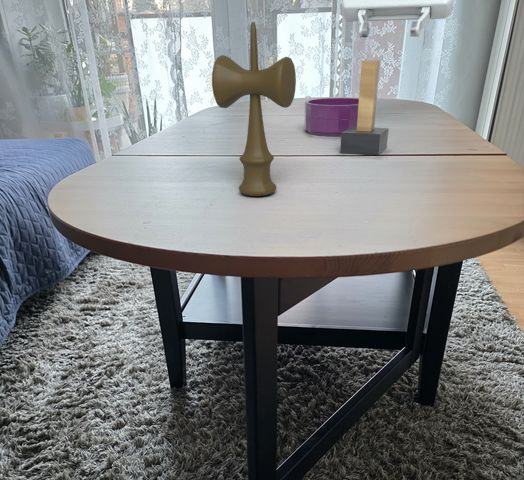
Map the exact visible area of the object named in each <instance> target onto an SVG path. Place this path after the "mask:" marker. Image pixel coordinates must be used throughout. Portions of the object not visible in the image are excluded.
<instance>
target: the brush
mask: <svg viewBox="0 0 524 480" xmlns="http://www.w3.org/2000/svg"><path fill="white" fill-rule="evenodd" d="M380 67H381V60H380V59H375V60H374V59H365V60H361V67H360V79H359V80H360V81H359V92H358V98H359V105H358V118H357V127H350V128H349V129H347V130H345V131H343V132H342V133H341V136H340V148H339V152H340V154H349V155H363V156H365V155H366V156H379V155H380V154H381V153H382V152H384V151H386V149H387V147H388V138H389V130H390V129H389V127H375V123H376V113H377V102H378V101H377V100H378V90H379V81H380V80H379V77H380Z"/></svg>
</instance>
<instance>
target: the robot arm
mask: <svg viewBox="0 0 524 480" xmlns="http://www.w3.org/2000/svg"><path fill="white" fill-rule="evenodd" d="M453 5H454V0H342V1H341V9H342V16H343V18H344V20H345V21H346V22H347V23H348V22H349V23H352V22H358V26H359V31H358V35H359V38H363V39H364V38H365V39H366V38H369V34H370V32H371V31H370V23H369V22H379V21H381V22H383V21H384V22H385V21H412V20H413V21H412V22H411V26H410V35H409V36H410V37H412V38H413V37H416V38H417V37H420V34H421V30H423V28H424V27H426V26H427V25H428V24H429V23H430V20H445V19H447V18H448V17H449V16H450V15H451V14H452V12H453ZM415 20H416V21H415Z"/></svg>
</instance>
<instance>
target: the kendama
mask: <svg viewBox="0 0 524 480" xmlns="http://www.w3.org/2000/svg"><path fill="white" fill-rule="evenodd" d="M249 32H250V35H249V39H250V40H249V44H250V45H249V55H250V56H249V65H250V66H249V69H246V68H244V67H242V66H241V65H239V64H238V63H237V62H236V61H234V59H232V58H231V57H229V56H227V55H224V54H221V55H219V56H217V57H216V59H215V61H214V62H213V65H212V66H213V67H212V72H211V89H212V94H213V97H214V100H215V103H216V104H217V106H218V107H219V108H221V109H227V108H229V107H231V106H232V105H233V104H235V103H236V102H237V101H238V100H240V99H242V98H243V97H245V96H249V110H248V111H249V113H248V125H247V135H246V143H245V148H244V152H243V153H242V155H240V157H238V158H239V161H240V163H241V164H242V166H243V178H242V182H241V183H240V185H238V191H239V192H240V193H241V194H242V195H245V196H250V197H262V196H268V195H271V194H274V192H275V191H276V190H277V185H276V183H275V182H274V181H272V177H271V165H272V162H273V161H274V159H275V156H274V155H273V154H271V152H270V150H269V148H268V144H267V138H266V132H265V125H264V119H263V111H262V110H263V109H262V101H261V100H262V99H261V98H262V97H261V96H263V97H265V98H267V99H268V100H270V101H272V102H273V103H275V104H276V105H277V106H279V107H281V108H284V109H287V108H289V107H290V106H291V105H292V103H293V102H294V99H295V95H296V87H297V75H296V73H297V72H296V67H295V66H296V65H295V64H294V62H293V59H292V58H291V57H289V56H283V57H282V58H280V59H279V60H277V61H276V62H274V63H272V64H271V65H270V66H268V67H266V68H263V69H259V52H258V51H259V50H258V33H257V25H256V22H255V21H251V24H250V31H249Z"/></svg>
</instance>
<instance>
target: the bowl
mask: <svg viewBox="0 0 524 480" xmlns="http://www.w3.org/2000/svg"><path fill="white" fill-rule="evenodd" d="M358 105H359V97H358V98H357V97H323V98H314V99H308V100H306V101H304V129H305V130H307V133H308V134H310V135H313V136H314V135H315V136H320V137H341V133H342V132H343V131H345V130H347V129H349V128H350V127H357V118H358Z"/></svg>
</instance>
